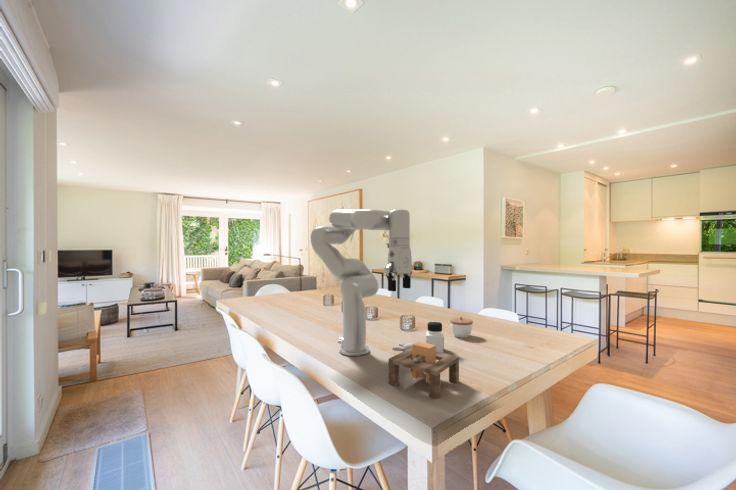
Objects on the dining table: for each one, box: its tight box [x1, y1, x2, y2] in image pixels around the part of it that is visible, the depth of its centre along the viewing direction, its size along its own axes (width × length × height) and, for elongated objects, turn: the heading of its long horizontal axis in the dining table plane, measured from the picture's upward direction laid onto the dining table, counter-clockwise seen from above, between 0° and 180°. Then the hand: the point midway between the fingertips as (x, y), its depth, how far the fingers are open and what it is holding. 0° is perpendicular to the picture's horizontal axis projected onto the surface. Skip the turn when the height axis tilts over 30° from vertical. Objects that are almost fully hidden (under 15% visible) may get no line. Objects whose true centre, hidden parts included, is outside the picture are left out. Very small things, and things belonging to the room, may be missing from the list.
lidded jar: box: [449, 316, 474, 338], centre depth 159 cm, size 11×11×9 cm
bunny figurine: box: [391, 342, 426, 362], centre depth 130 cm, size 10×5×15 cm
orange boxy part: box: [411, 341, 437, 384], centre depth 105 cm, size 6×4×11 cm, turn 51°
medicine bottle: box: [425, 320, 445, 353], centre depth 137 cm, size 7×7×12 cm
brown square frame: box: [388, 348, 460, 400], centre depth 105 cm, size 17×16×9 cm
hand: (399, 289), depth 120 cm, fingers open, 9 cm apart
